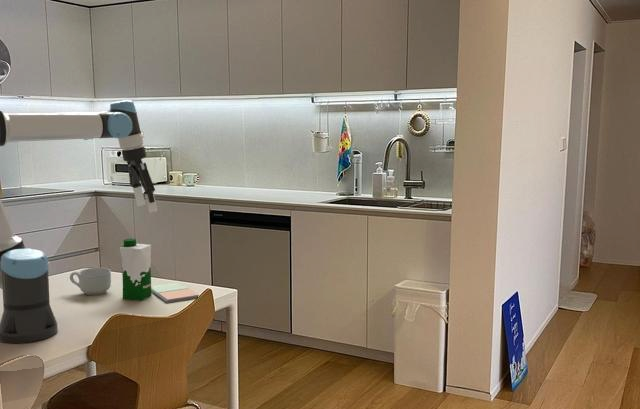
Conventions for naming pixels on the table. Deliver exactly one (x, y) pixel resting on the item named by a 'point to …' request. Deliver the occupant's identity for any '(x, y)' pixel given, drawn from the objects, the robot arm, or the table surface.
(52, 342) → the table surface
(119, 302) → the table surface
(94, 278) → the teacup
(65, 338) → the table surface
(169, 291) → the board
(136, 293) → the soya milk
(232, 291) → the table surface
